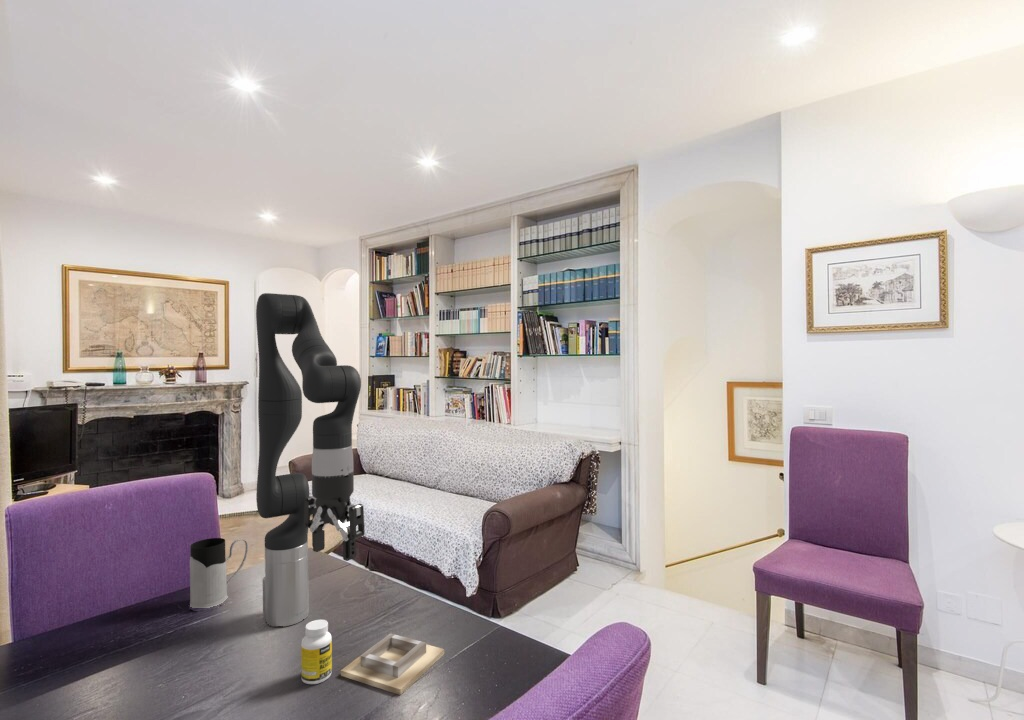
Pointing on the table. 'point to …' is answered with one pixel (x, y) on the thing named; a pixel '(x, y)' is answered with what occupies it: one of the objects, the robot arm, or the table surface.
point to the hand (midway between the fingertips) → (333, 554)
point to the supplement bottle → (316, 653)
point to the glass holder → (210, 572)
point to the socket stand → (393, 663)
